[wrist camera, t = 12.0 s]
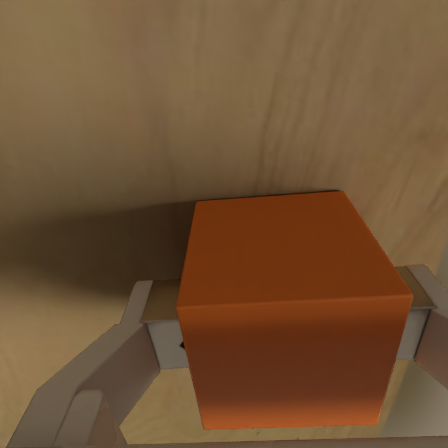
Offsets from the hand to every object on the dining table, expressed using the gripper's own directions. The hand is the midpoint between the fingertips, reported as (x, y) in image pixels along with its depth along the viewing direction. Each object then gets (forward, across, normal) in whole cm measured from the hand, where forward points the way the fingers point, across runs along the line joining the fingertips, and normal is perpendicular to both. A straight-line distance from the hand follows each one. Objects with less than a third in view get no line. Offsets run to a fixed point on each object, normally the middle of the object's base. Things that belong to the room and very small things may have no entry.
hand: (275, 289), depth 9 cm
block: (+2, 0, 0) cm, 2 cm away
